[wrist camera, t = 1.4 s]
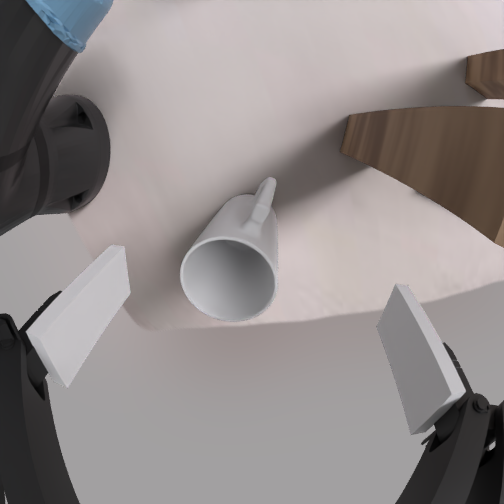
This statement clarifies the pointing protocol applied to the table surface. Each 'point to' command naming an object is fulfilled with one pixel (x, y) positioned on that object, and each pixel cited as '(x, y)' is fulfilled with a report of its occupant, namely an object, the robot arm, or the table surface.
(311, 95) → the table surface
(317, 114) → the table surface
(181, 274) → the mug
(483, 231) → the corner post
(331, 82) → the table surface
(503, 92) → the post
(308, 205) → the table surface
